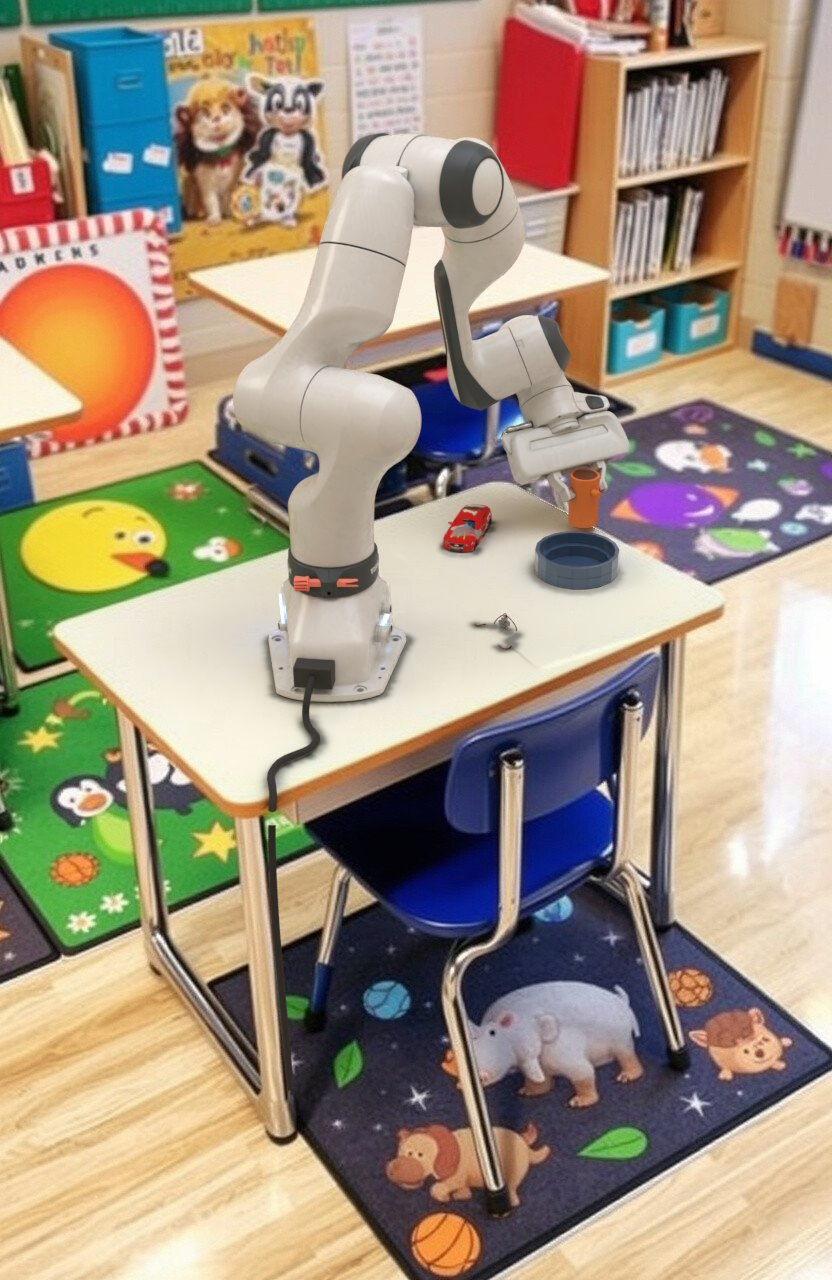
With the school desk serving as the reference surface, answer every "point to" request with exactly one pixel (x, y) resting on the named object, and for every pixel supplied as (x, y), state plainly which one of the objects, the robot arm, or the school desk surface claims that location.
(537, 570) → the bowl
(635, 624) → the school desk surface
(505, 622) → the pendant
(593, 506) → the orange cylinder with nub
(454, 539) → the race car
